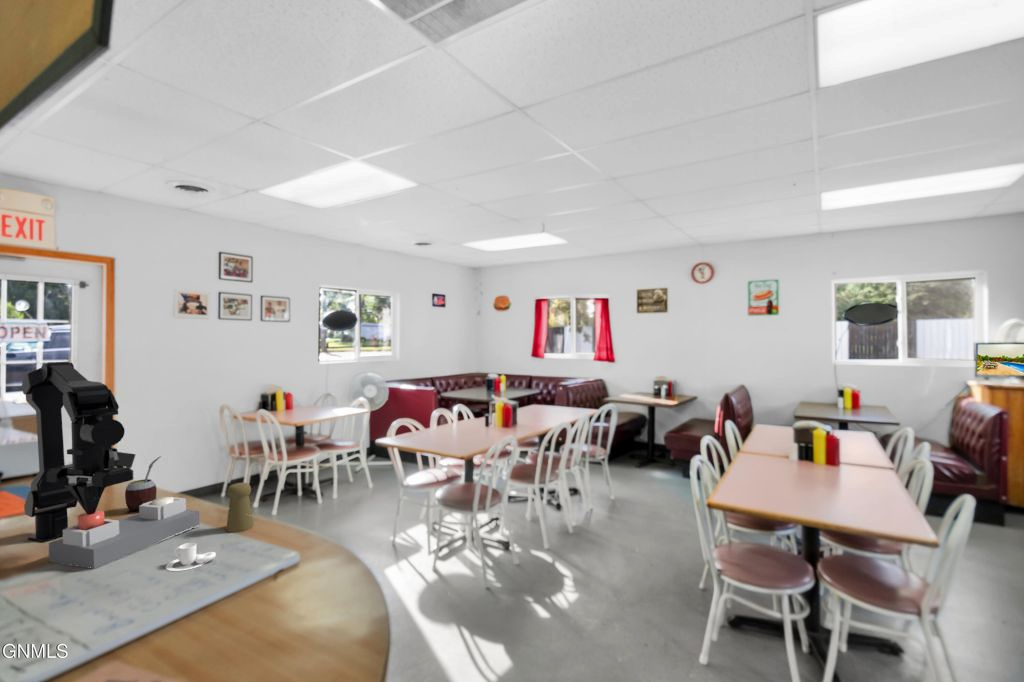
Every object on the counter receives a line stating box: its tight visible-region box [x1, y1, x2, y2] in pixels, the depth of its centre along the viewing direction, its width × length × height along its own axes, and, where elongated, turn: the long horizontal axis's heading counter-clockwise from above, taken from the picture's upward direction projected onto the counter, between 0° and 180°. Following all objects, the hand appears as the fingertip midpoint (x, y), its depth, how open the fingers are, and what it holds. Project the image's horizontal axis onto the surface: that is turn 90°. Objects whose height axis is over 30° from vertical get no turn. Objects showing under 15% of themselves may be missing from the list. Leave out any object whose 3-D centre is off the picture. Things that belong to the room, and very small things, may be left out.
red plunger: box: [77, 510, 105, 531], centre depth 109 cm, size 4×4×3 cm
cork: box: [225, 482, 254, 533], centre depth 124 cm, size 6×6×11 cm
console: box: [48, 496, 200, 569], centre depth 116 cm, size 14×24×7 cm, turn 162°
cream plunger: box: [152, 496, 174, 506], centre depth 124 cm, size 4×4×3 cm
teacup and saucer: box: [165, 542, 217, 572], centre depth 104 cm, size 9×8×4 cm
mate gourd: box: [124, 455, 161, 514], centre depth 140 cm, size 8×8×15 cm
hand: (91, 513), depth 109 cm, fingers closed, pressing on red plunger
